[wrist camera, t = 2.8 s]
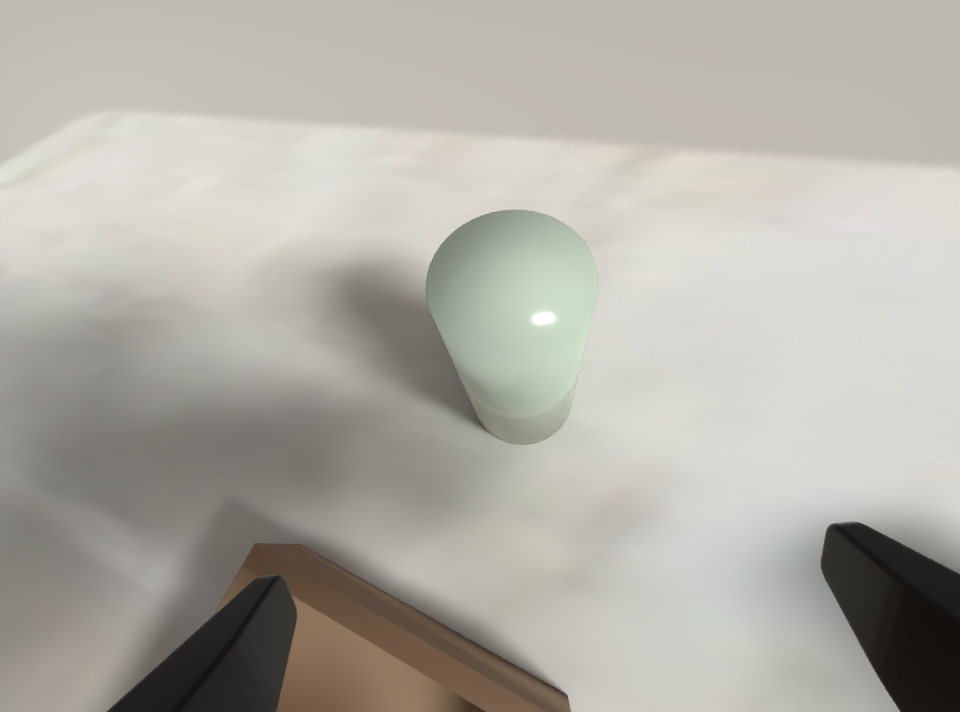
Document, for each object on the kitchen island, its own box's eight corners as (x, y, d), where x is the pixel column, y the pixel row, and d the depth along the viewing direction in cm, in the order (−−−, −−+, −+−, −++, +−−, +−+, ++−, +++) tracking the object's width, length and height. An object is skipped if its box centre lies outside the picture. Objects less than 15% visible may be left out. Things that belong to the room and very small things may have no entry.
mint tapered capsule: (549, 461, 21) (558, 388, 11) (456, 420, 22) (396, 323, 12) (587, 370, 22) (623, 237, 13) (497, 336, 23) (470, 191, 14)
